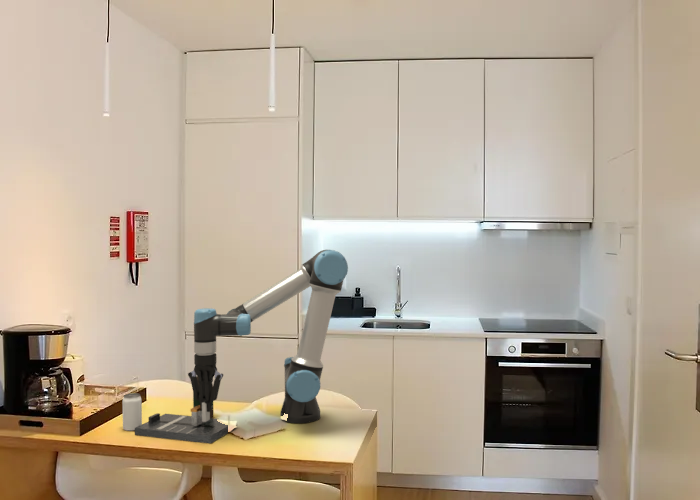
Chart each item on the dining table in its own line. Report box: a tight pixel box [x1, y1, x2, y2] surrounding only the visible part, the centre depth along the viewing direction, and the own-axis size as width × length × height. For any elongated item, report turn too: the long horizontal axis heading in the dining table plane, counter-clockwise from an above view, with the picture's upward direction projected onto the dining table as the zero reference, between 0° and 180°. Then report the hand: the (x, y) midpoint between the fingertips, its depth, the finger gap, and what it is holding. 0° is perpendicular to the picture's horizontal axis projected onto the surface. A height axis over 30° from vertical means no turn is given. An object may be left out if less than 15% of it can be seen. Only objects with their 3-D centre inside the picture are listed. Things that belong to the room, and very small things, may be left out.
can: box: [122, 392, 143, 432], centre depth 224 cm, size 6×6×12 cm
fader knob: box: [190, 405, 204, 426], centre depth 219 cm, size 2×5×6 cm, turn 161°
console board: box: [134, 412, 229, 445], centre depth 220 cm, size 30×18×4 cm, turn 71°
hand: (205, 420), depth 218 cm, fingers closed
